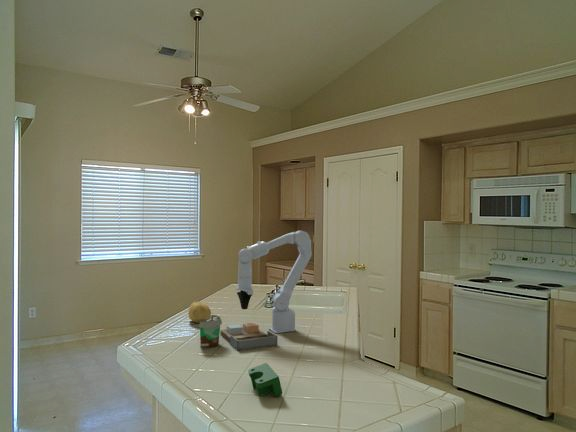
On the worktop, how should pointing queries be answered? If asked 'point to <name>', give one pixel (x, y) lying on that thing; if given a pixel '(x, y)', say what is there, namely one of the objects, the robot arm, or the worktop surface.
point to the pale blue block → (234, 329)
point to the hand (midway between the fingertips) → (244, 308)
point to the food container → (210, 332)
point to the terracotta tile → (250, 327)
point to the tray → (254, 342)
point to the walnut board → (243, 335)
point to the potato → (199, 312)
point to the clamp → (265, 380)
